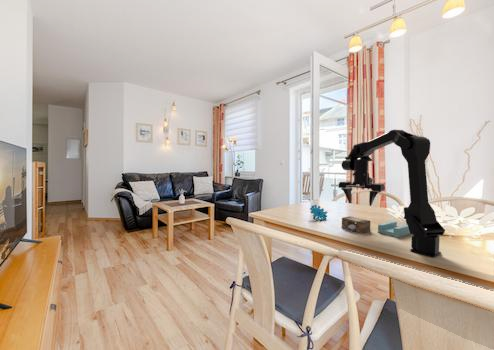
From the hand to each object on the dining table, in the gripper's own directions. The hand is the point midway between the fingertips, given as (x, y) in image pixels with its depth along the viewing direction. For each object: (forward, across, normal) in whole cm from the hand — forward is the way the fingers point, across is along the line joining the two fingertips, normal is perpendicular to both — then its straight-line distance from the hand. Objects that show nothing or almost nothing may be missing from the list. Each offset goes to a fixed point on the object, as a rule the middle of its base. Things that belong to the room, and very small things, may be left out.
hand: (359, 204), depth 104 cm
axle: (+11, 0, +2) cm, 12 cm away
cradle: (+11, -13, -4) cm, 18 cm away
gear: (+12, +22, -1) cm, 24 cm away
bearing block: (+11, 0, +3) cm, 12 cm away
